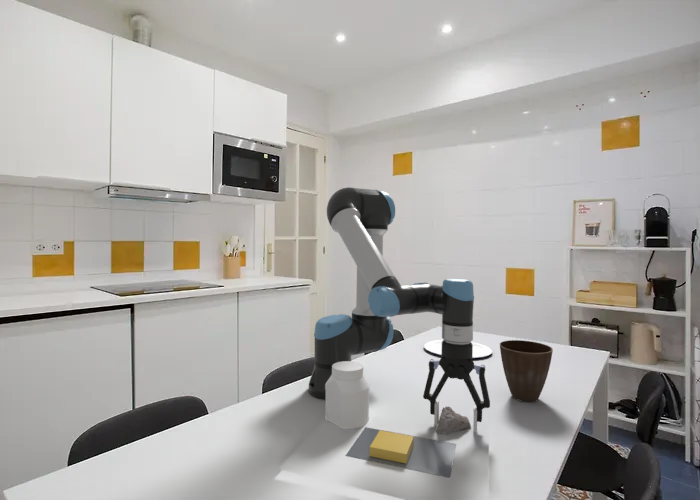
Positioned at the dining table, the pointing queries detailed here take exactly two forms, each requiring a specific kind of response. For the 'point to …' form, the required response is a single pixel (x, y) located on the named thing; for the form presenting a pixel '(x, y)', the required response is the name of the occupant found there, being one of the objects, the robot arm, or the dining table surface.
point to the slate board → (422, 457)
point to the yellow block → (392, 446)
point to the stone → (451, 421)
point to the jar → (347, 396)
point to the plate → (478, 349)
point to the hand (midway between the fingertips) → (455, 430)
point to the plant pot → (525, 367)
